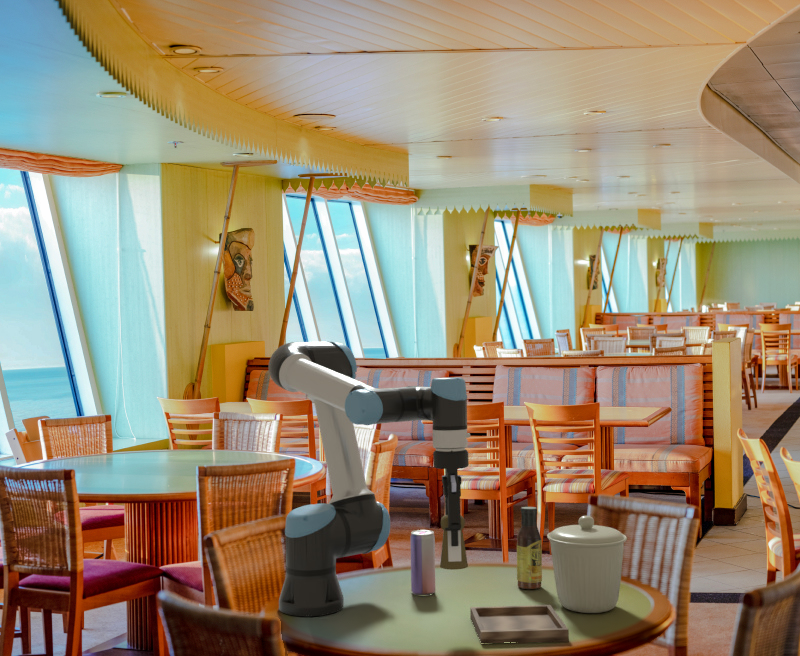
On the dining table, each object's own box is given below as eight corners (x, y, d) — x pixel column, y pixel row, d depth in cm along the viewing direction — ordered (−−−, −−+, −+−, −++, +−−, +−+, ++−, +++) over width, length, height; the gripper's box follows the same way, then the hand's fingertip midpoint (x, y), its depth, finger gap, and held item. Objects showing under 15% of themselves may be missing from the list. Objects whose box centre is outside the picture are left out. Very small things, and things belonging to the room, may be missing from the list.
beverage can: (410, 596, 224) (409, 534, 224) (412, 589, 230) (411, 529, 230) (434, 596, 223) (433, 534, 223) (436, 590, 229) (435, 529, 229)
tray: (481, 644, 187) (480, 632, 187) (470, 618, 205) (470, 607, 205) (568, 641, 187) (568, 629, 187) (550, 616, 205) (550, 604, 205)
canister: (642, 615, 205) (640, 520, 205) (566, 621, 201) (564, 525, 202) (607, 594, 223) (605, 507, 223) (537, 599, 219) (535, 511, 219)
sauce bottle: (536, 591, 226) (534, 510, 226) (512, 588, 229) (511, 508, 230) (546, 585, 231) (545, 506, 232) (523, 582, 235) (522, 504, 235)
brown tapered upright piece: (465, 569, 193) (464, 517, 193) (437, 569, 194) (435, 516, 195) (470, 563, 199) (468, 512, 199) (442, 562, 200) (441, 512, 201)
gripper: (471, 452, 189) (475, 567, 188) (464, 444, 206) (467, 549, 206) (435, 453, 188) (438, 568, 188) (431, 445, 206) (434, 550, 205)
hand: (453, 558), depth 197 cm, fingers closed on brown tapered upright piece, 5 cm apart
